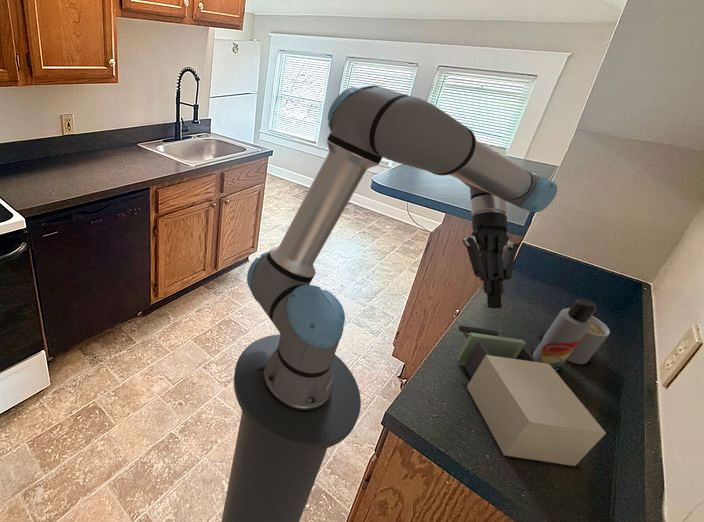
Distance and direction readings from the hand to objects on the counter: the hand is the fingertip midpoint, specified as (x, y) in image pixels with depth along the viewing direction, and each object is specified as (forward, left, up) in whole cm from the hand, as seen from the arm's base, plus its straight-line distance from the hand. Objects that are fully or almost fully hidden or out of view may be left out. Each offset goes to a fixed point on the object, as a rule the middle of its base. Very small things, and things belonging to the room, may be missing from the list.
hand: (494, 307), depth 92 cm
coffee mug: (+23, +18, -15) cm, 33 cm away
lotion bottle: (+17, +7, -15) cm, 24 cm away
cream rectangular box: (+9, -18, -14) cm, 25 cm away
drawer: (+4, -8, -14) cm, 16 cm away
